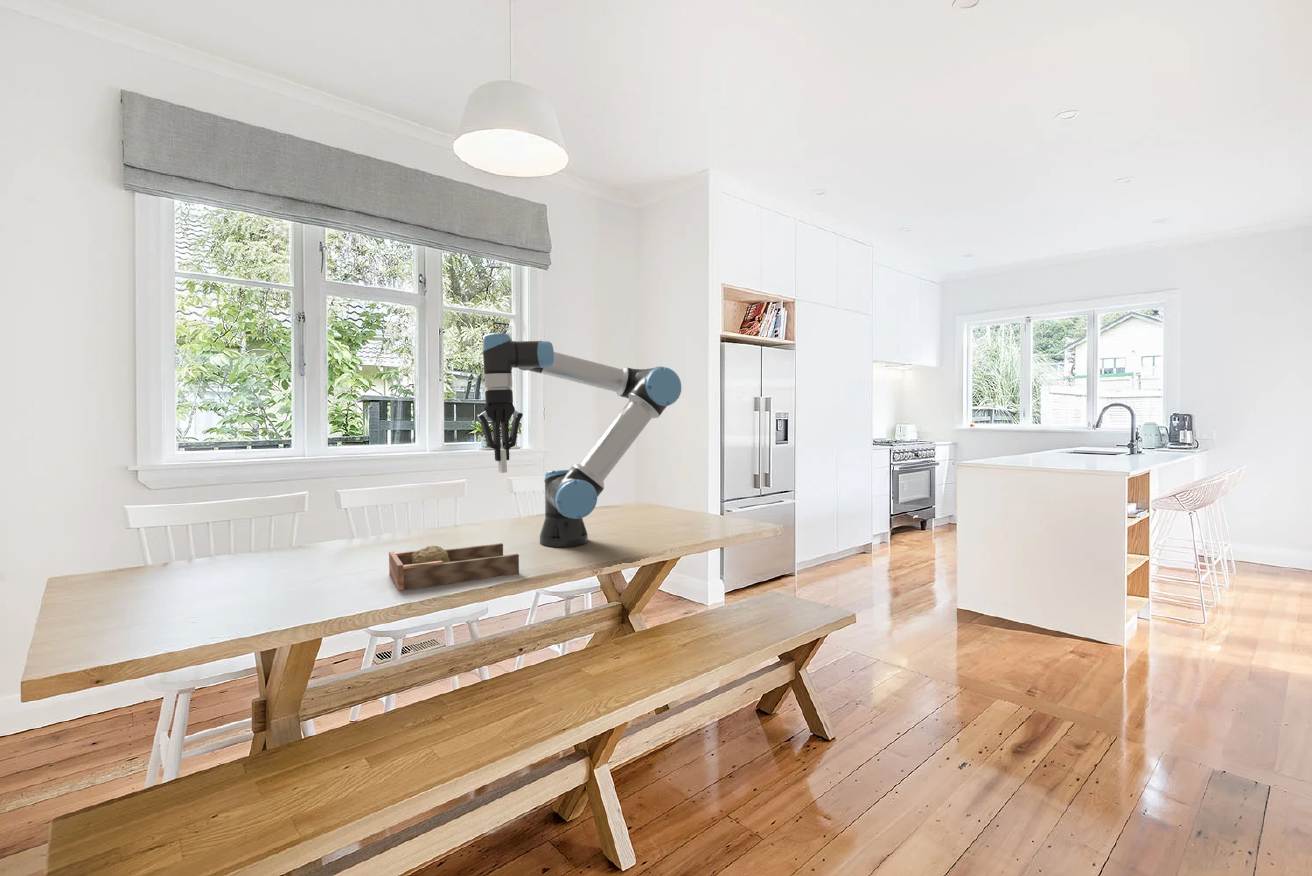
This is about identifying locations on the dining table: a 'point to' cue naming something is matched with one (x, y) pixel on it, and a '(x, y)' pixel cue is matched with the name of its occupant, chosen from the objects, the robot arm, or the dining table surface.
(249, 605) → the dining table surface
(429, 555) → the coral
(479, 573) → the tray
